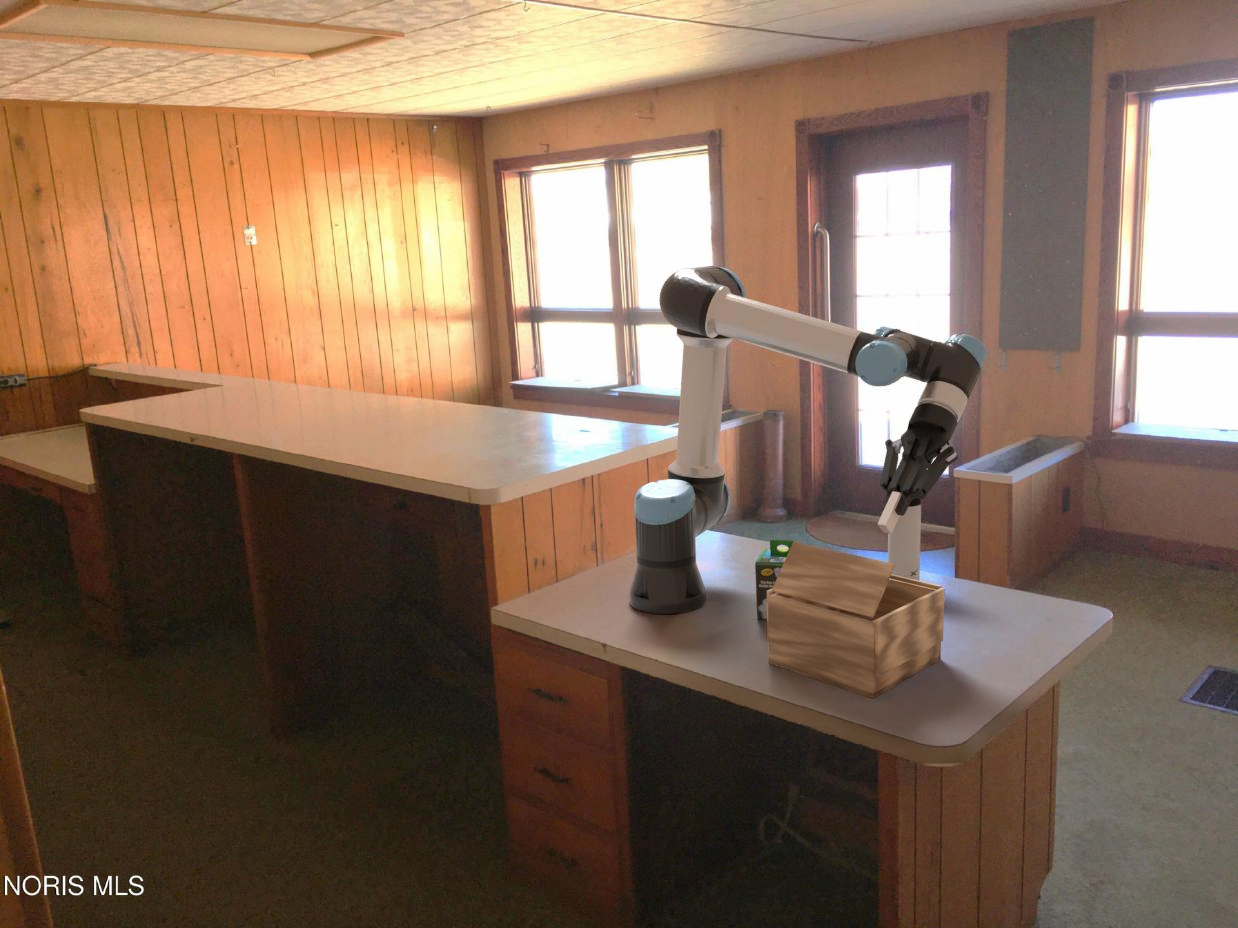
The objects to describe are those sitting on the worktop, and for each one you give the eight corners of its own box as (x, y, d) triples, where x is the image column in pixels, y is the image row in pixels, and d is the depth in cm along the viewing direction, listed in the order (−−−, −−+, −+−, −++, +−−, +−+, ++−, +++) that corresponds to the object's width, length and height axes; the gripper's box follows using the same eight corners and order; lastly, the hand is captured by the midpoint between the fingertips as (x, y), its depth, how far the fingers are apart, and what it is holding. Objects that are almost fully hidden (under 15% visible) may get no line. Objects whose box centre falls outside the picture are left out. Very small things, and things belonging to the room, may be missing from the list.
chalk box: (812, 607, 191) (812, 532, 188) (805, 624, 183) (804, 546, 180) (764, 603, 194) (763, 530, 191) (755, 620, 186) (754, 543, 183)
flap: (871, 616, 150) (893, 563, 152) (772, 589, 163) (793, 541, 166) (873, 618, 150) (894, 565, 152) (773, 591, 164) (795, 542, 166)
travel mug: (922, 588, 199) (924, 490, 195) (888, 587, 200) (889, 490, 196) (919, 578, 205) (921, 483, 201) (886, 577, 206) (888, 483, 202)
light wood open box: (876, 699, 151) (877, 621, 149) (765, 662, 167) (765, 591, 164) (945, 658, 165) (947, 586, 162) (837, 627, 180) (838, 561, 178)
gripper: (979, 430, 170) (928, 547, 162) (910, 423, 179) (859, 534, 171) (965, 404, 165) (911, 523, 157) (895, 398, 174) (841, 510, 167)
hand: (884, 528), depth 164 cm, fingers closed
